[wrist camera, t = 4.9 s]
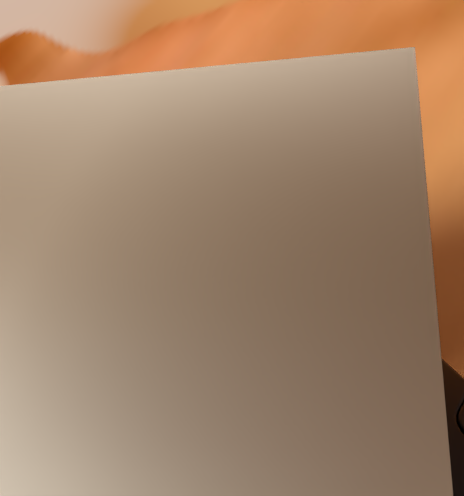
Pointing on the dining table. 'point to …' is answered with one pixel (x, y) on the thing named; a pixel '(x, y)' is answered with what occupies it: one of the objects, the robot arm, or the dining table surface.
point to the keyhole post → (220, 284)
